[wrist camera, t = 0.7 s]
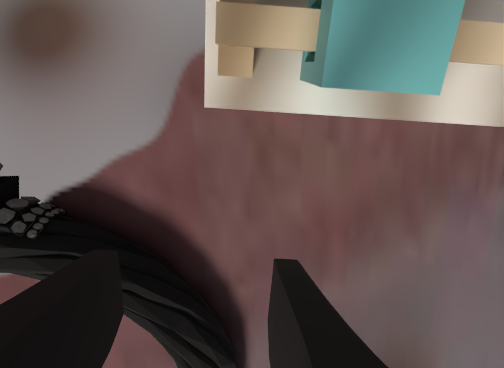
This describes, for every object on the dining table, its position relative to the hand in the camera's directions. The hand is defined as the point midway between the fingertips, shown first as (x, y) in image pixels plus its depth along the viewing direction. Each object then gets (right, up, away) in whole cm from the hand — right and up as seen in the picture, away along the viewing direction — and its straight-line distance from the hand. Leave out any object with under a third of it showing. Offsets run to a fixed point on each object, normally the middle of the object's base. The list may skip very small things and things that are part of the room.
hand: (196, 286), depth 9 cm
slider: (+6, +9, +6) cm, 12 cm away
